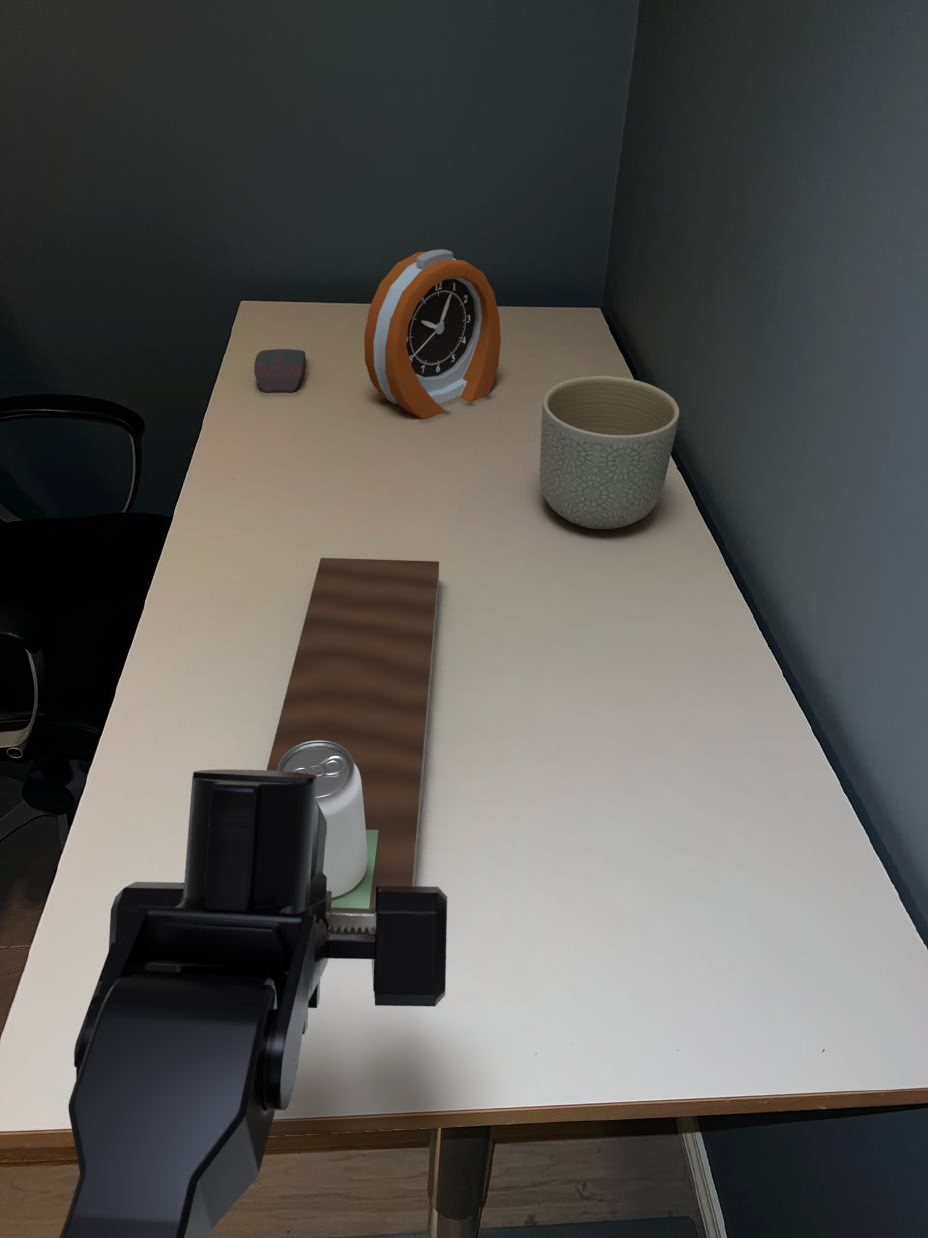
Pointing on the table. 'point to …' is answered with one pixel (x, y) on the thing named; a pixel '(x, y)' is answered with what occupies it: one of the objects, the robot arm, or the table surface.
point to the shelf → (369, 700)
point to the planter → (605, 449)
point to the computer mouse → (279, 369)
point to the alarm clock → (432, 333)
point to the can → (335, 809)
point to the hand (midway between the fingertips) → (305, 911)
